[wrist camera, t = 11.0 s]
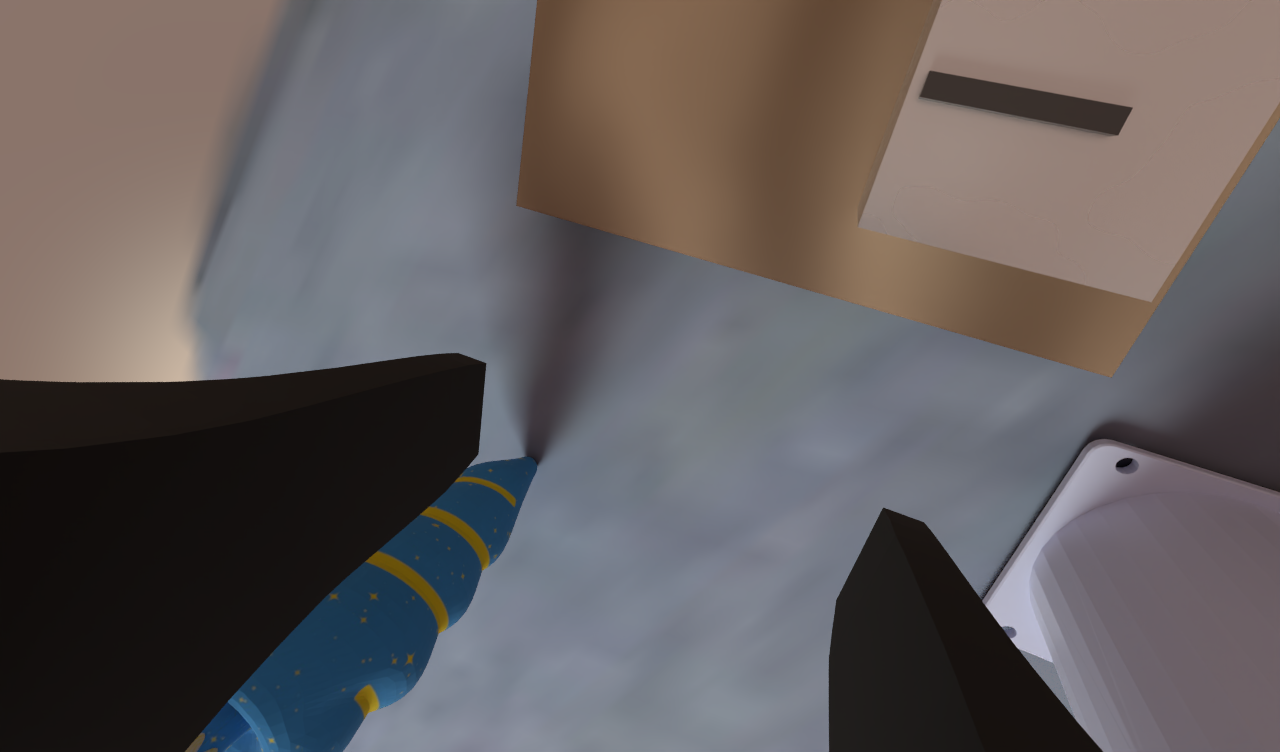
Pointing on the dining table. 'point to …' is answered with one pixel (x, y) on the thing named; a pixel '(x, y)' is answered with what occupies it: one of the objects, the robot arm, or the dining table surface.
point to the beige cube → (1074, 131)
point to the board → (780, 161)
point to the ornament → (375, 623)
